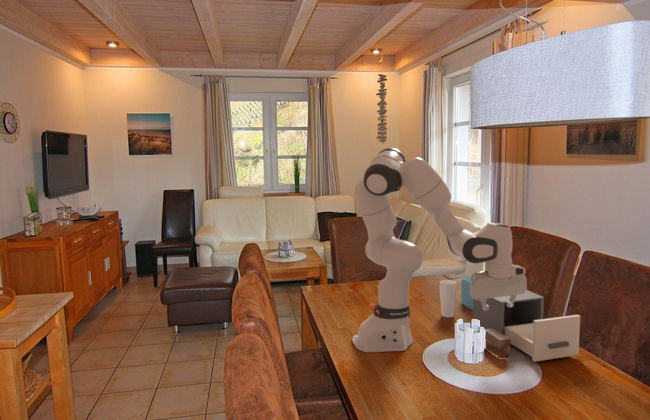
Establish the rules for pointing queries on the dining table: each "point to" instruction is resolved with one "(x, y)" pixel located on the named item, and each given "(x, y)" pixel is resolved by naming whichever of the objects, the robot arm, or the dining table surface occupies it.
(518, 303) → the cabinet
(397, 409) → the dining table surface
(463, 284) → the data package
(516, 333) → the drawer
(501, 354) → the walnut block
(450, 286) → the drinking glass
